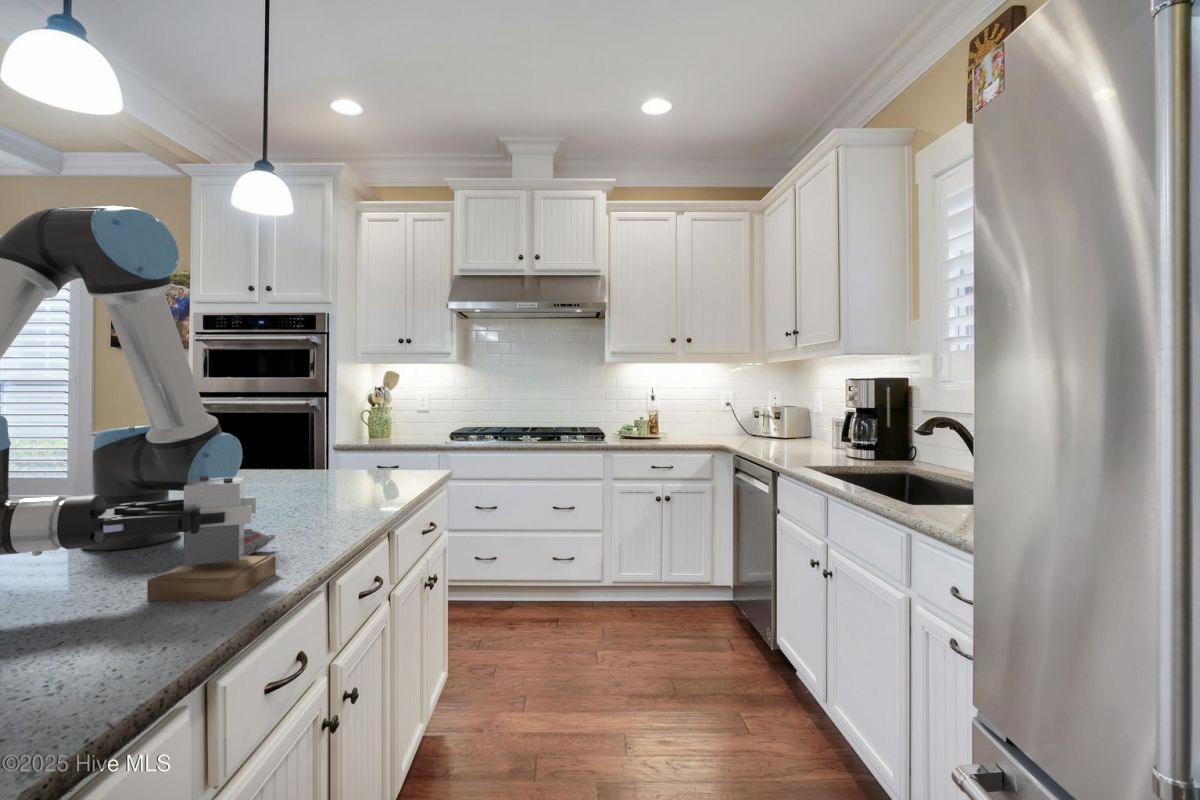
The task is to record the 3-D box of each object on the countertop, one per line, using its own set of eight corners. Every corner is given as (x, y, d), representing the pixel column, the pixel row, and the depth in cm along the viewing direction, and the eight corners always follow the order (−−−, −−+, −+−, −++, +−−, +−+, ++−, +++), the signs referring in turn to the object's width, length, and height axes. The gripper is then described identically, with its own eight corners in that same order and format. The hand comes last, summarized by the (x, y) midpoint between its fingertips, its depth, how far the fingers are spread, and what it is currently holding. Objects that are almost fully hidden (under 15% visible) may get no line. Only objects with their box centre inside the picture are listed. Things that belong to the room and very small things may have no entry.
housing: (192, 553, 89) (193, 475, 88) (244, 548, 92) (244, 472, 92) (183, 565, 82) (183, 482, 82) (239, 559, 86) (239, 479, 85)
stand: (202, 573, 93) (202, 554, 93) (275, 573, 93) (275, 554, 93) (147, 600, 81) (147, 578, 81) (231, 600, 81) (231, 578, 81)
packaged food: (275, 549, 108) (274, 524, 108) (240, 569, 96) (240, 540, 96) (228, 550, 107) (227, 525, 107) (187, 570, 95) (187, 542, 95)
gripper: (89, 532, 88) (258, 519, 98) (32, 569, 70) (246, 548, 80) (89, 485, 87) (258, 477, 98) (33, 510, 70) (247, 497, 80)
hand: (253, 509), depth 89 cm, fingers closed on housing, 7 cm apart
